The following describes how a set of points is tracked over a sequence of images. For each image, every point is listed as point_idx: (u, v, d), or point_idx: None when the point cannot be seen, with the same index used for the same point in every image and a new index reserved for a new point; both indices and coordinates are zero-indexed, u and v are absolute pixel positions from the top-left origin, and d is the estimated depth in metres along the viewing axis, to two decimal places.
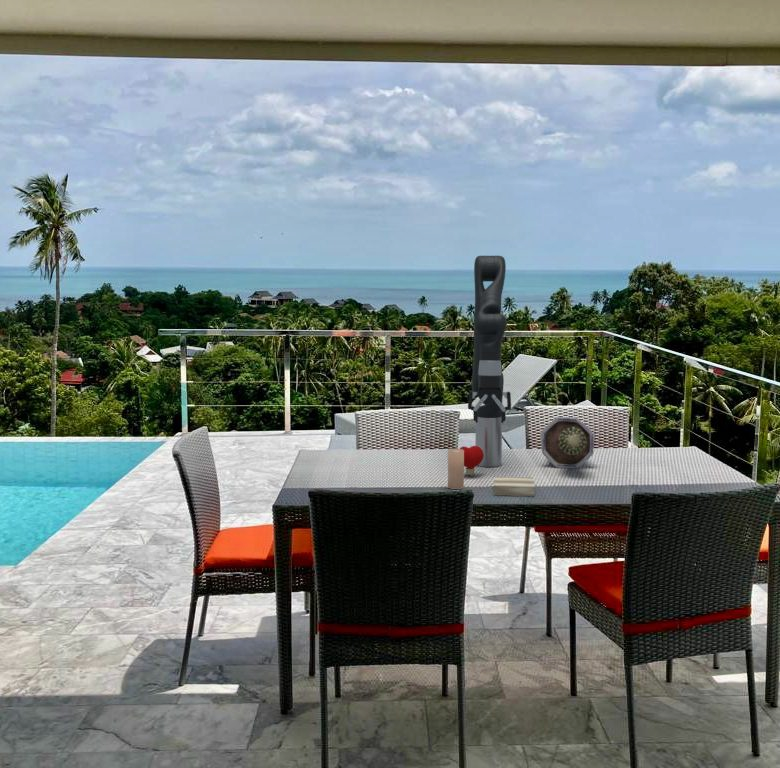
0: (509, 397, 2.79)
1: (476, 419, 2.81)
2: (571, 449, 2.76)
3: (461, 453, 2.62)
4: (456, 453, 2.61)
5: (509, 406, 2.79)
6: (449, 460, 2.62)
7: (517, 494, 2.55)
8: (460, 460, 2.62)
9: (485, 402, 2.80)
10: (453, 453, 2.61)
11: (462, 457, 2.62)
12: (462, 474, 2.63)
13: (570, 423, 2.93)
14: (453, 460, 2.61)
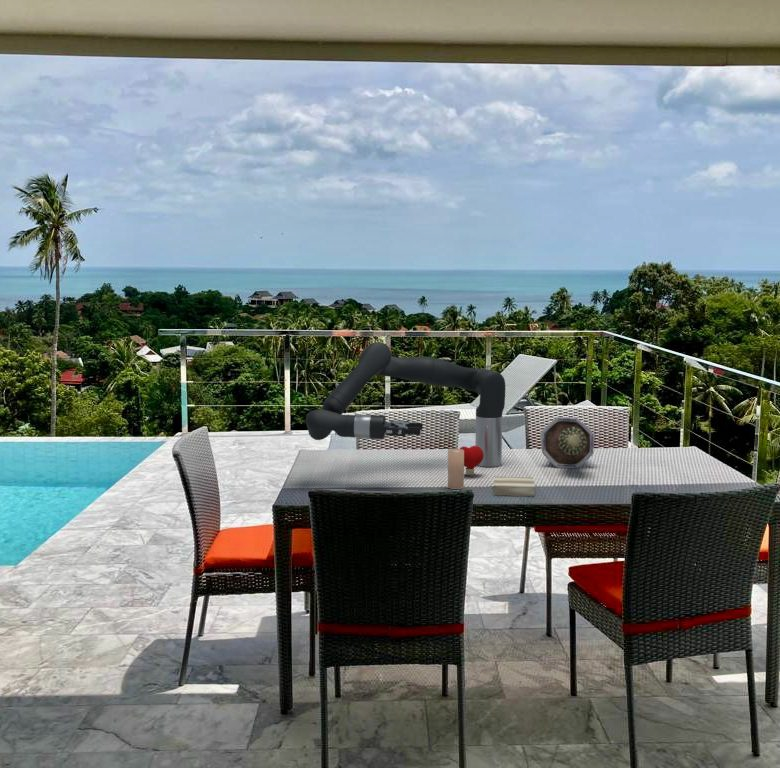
0: (391, 435, 2.58)
1: None
2: (571, 449, 2.76)
3: (461, 453, 2.62)
4: (456, 453, 2.61)
5: None
6: (449, 460, 2.62)
7: (517, 494, 2.55)
8: (460, 460, 2.62)
9: None
10: (453, 453, 2.61)
11: (462, 457, 2.62)
12: (462, 474, 2.63)
13: (570, 423, 2.93)
14: (453, 460, 2.61)
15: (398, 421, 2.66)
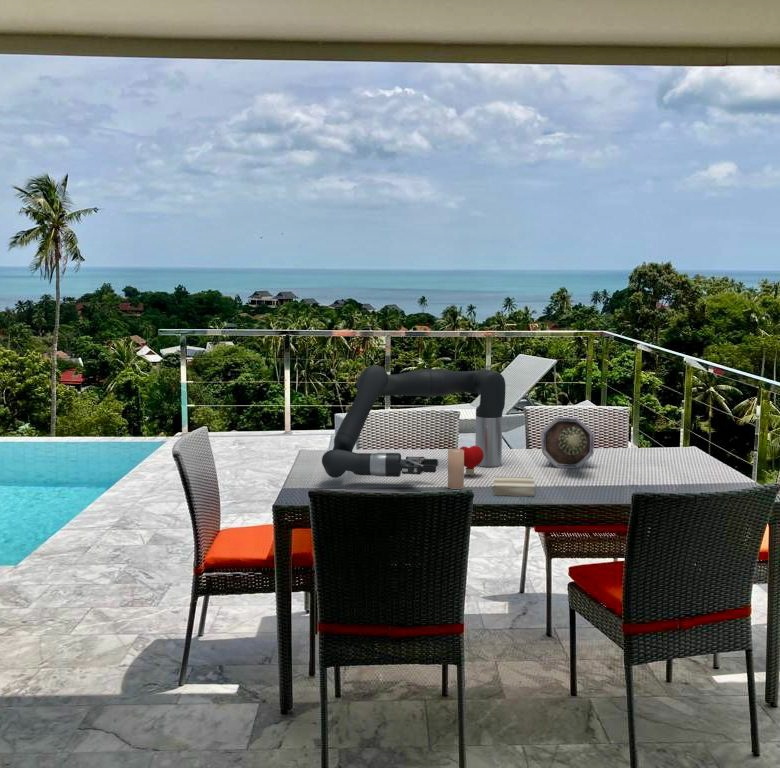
0: None
1: None
2: (571, 449, 2.76)
3: (461, 453, 2.62)
4: (456, 453, 2.61)
5: None
6: (449, 460, 2.62)
7: (517, 494, 2.55)
8: (460, 460, 2.62)
9: None
10: (453, 453, 2.61)
11: (462, 457, 2.62)
12: (462, 474, 2.63)
13: (570, 423, 2.93)
14: (453, 460, 2.61)
15: (413, 458, 2.68)
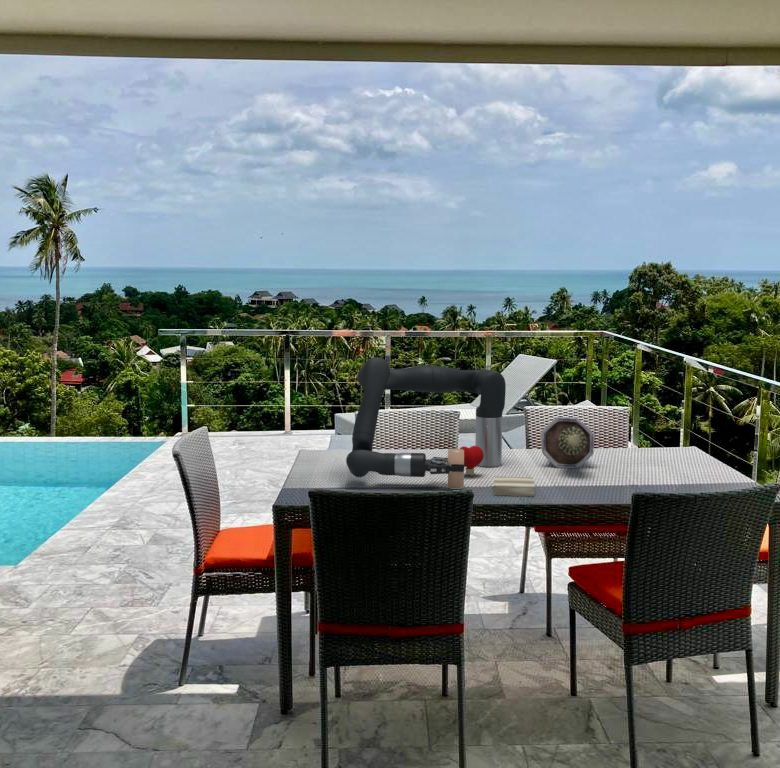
0: None
1: None
2: (571, 449, 2.76)
3: (461, 453, 2.62)
4: (456, 453, 2.61)
5: None
6: (449, 460, 2.62)
7: (517, 494, 2.55)
8: (460, 460, 2.62)
9: None
10: (453, 453, 2.61)
11: (462, 457, 2.62)
12: (462, 474, 2.63)
13: (570, 423, 2.93)
14: (453, 460, 2.61)
15: (439, 458, 2.66)
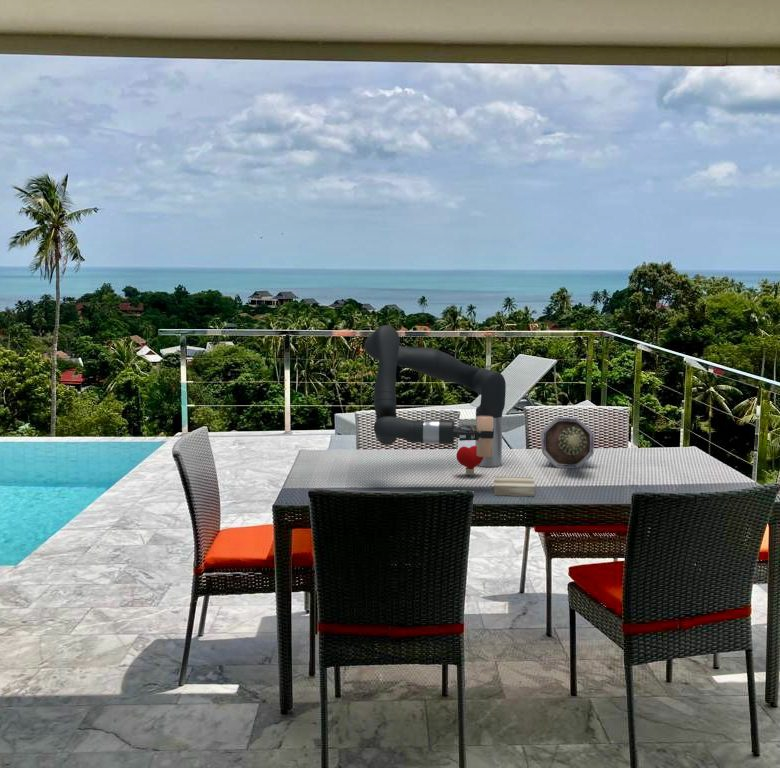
0: None
1: None
2: (571, 449, 2.76)
3: (490, 420, 2.58)
4: (485, 419, 2.58)
5: (474, 439, 2.56)
6: (478, 427, 2.59)
7: (517, 494, 2.55)
8: (489, 427, 2.58)
9: None
10: (482, 419, 2.58)
11: (491, 424, 2.59)
12: (491, 441, 2.59)
13: (570, 423, 2.93)
14: (482, 427, 2.58)
15: (467, 426, 2.63)
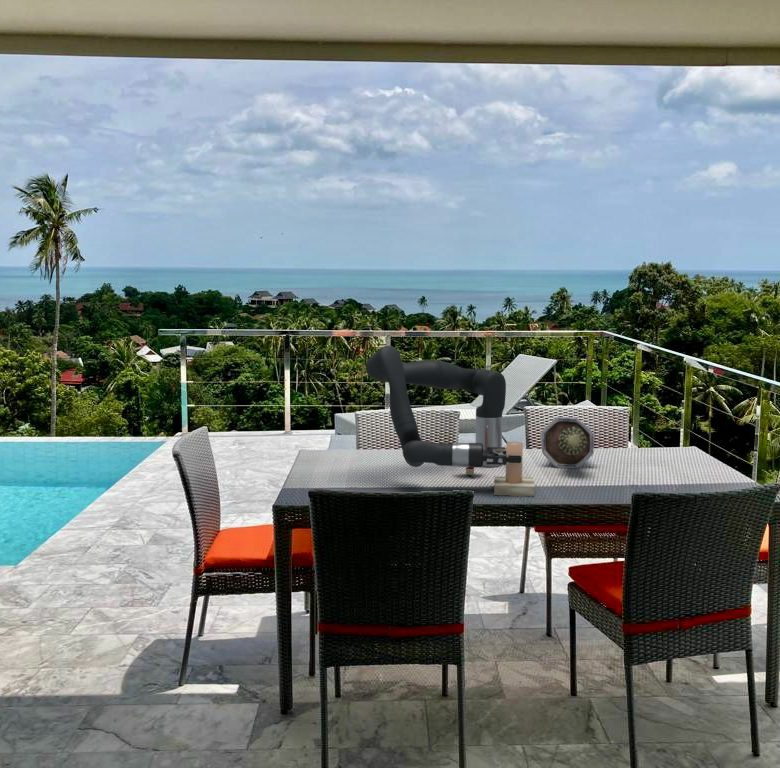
0: None
1: None
2: (571, 449, 2.76)
3: (520, 446, 2.57)
4: (515, 446, 2.57)
5: None
6: (508, 453, 2.58)
7: (517, 494, 2.55)
8: (519, 453, 2.57)
9: None
10: (512, 446, 2.57)
11: (521, 450, 2.58)
12: (521, 467, 2.58)
13: (570, 423, 2.93)
14: (512, 453, 2.57)
15: (496, 448, 2.62)
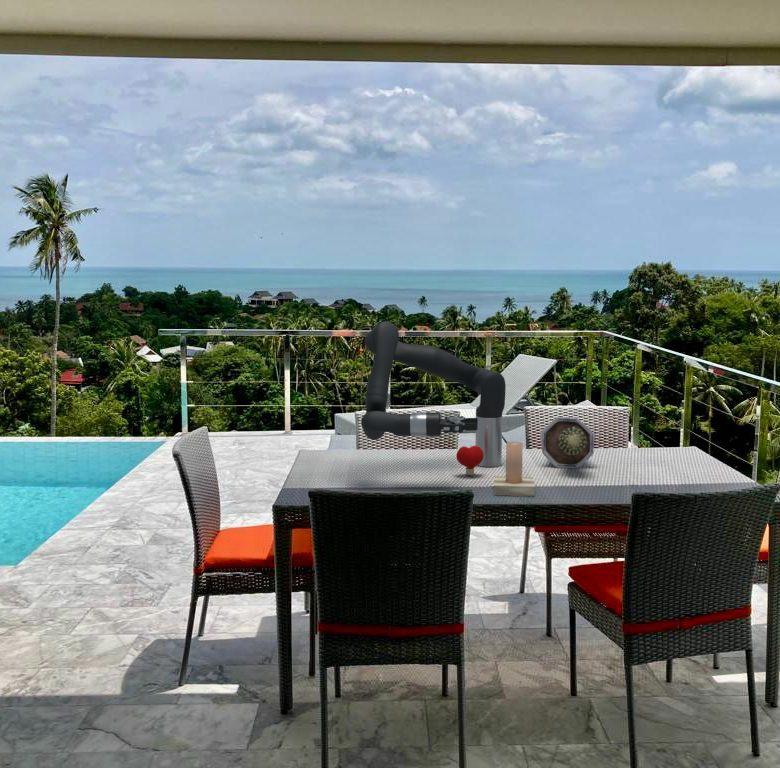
0: None
1: None
2: (571, 449, 2.76)
3: (520, 446, 2.57)
4: (515, 446, 2.56)
5: None
6: (507, 453, 2.58)
7: (517, 494, 2.55)
8: (519, 453, 2.57)
9: None
10: (512, 446, 2.57)
11: (521, 450, 2.58)
12: (521, 467, 2.58)
13: (570, 423, 2.93)
14: (511, 453, 2.57)
15: (453, 417, 2.65)
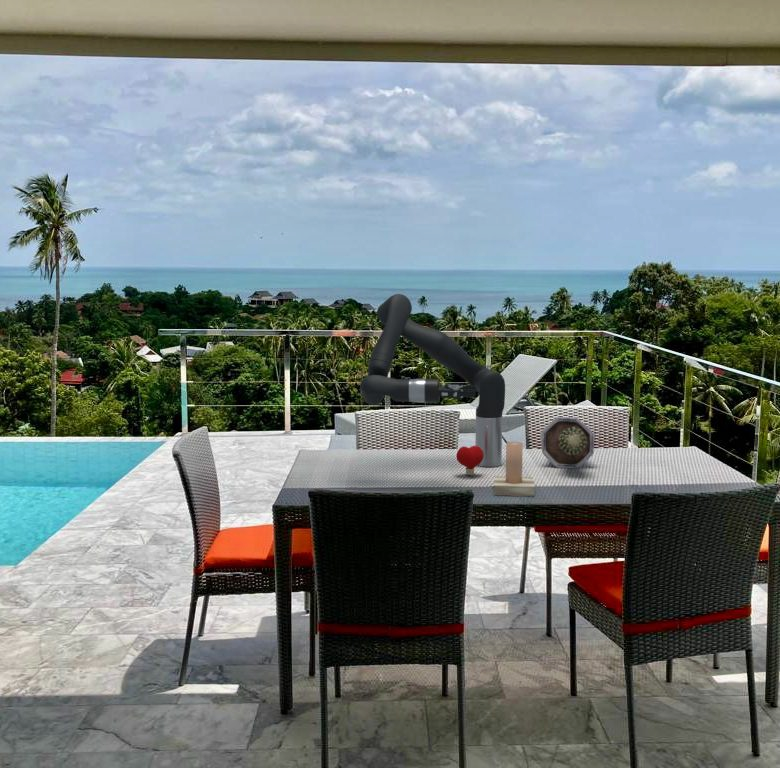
0: (447, 397, 2.59)
1: None
2: (571, 449, 2.76)
3: (520, 446, 2.57)
4: (515, 446, 2.56)
5: None
6: (507, 453, 2.58)
7: (517, 494, 2.55)
8: (519, 453, 2.57)
9: None
10: (512, 446, 2.57)
11: (521, 450, 2.58)
12: (521, 467, 2.58)
13: (570, 423, 2.93)
14: (511, 453, 2.57)
15: (452, 384, 2.67)
